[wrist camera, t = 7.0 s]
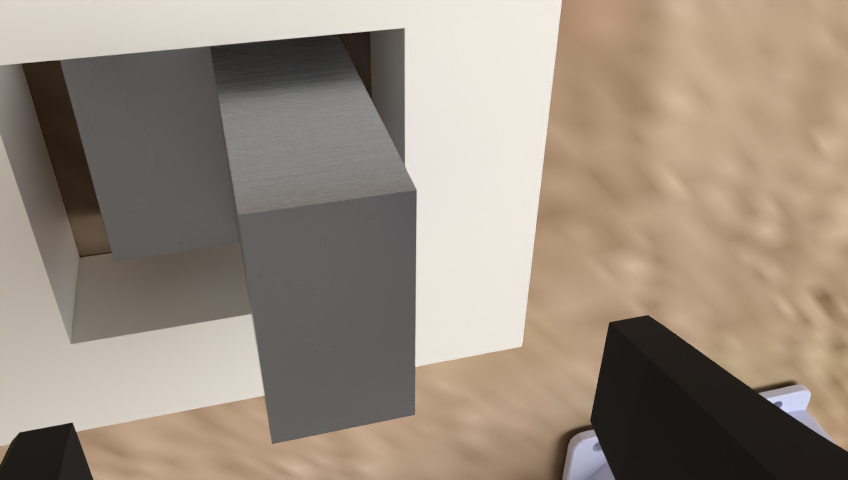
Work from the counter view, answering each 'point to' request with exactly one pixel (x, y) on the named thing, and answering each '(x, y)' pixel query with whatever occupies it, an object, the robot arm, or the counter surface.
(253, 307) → the stepped metal block
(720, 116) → the counter surface
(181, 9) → the white rectangular frame
